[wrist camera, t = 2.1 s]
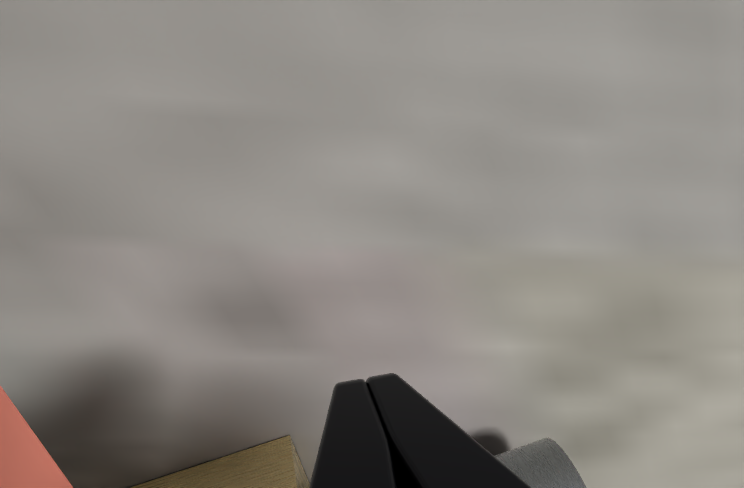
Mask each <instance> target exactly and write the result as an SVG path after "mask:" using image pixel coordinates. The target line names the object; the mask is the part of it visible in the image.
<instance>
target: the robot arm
mask: <svg viewBox="0 0 744 488" xmlns="http://www.w3.org/2000/svg"><path fill="white" fill-rule="evenodd" d="M309 488H532V487H530V486H529V485H528V484H527V483H526V482H524V481H523V480H522V479H521V478H520V477H518V476H517V475H516V474H515V473H514V472H512V471H511V470H510V469H509V468H508V467H506V466H505V465H504V464H503V463H502V462H501V461H499V460H498V459H497V458H496V457H495V456H493V455H492V454H491V453H490V452H489V451H487V450H486V449H485V448H484V447H483V446H481V445H480V444H479V443H478V442H477V441H475V440H474V439H473V438H472V437H471V436H470V435H468V434H467V433H466V432H465V431H464V430H462V429H461V428H460V427H459V426H458V425H456V424H455V423H454V422H453V421H452V420H450V419H449V418H448V417H447V416H446V415H444V414H443V413H442V412H441V411H440V410H439V409H437V408H436V407H435V406H434V405H433V404H431V403H430V402H429V401H428V400H427V399H425V398H424V397H423V396H422V395H421V394H419V393H418V392H417V391H416V390H415V389H413V388H412V387H411V386H410V385H409V384H408V383H406V382H405V381H404V380H403V379H402V378H400V377H399V376H398V375H396V374H394V373H389V374H384V375H378V376H373V377H369V378H368V379H367V380H366V382H365V381H364V380H363V379H356V380H351V381H345V382H340V383H337V384H336V385H335V387H334V390H333V394H332V398H331V402H330V406H329V410H328V414H327V418H326V422H325V426H324V430H323V434H322V439H321V443H320V447H319V451H318V455H317V459H316V463H315V467H314V471H313V475H312V479H311V483H310V487H309Z"/></svg>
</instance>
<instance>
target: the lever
mask: <svg viewBox="0 0 744 488" xmlns="http://www.w3.org/2000/svg"><path fill="white" fill-rule="evenodd" d="M0 488H73V487H72V485H71V484H70V482H69V481H68V480H67V478H66V477H65V475H64V474H63V473H62V471H61V470H60V469H59V467H58V466H57V464H56V463H55V462H54V460H53V459H52V457H51V456H50V455H49V453H48V452H47V450H46V449H45V448H44V446H43V445H42V443H41V442H40V441H39V439H38V438H37V436H36V435H35V434H34V432H33V431H32V429H31V428H30V427H29V425H28V424H27V422H26V421H25V420H24V418H23V417H22V415H21V414H20V413H19V411H18V410H17V408H16V407H15V406H14V404H13V403H12V401H11V400H10V399H9V397H8V396H7V394H6V393H5V392H4V390H3V389H2V387H1V386H0Z"/></svg>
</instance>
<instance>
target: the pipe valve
mask: <svg viewBox="0 0 744 488" xmlns="http://www.w3.org/2000/svg"><path fill="white" fill-rule="evenodd" d="M495 457H496V458H497V459H498V460H499V461H501V462H502V463H503V464H504V465H505V466H506V467H508V468H509V469H510V470H511V471H512V472H514V473H515V474H516V475H517V476H518V477H520V478H521V479H522V480H523V481H524V482H526V483H527V484H528V485H529V486H530V487H532V488H586V486H585V484H584V482H583V480H582V479H581V477H580V475H579V473H578V472H577V470H576V468H575V467H574V465H573V463H572V462H571V460H570V459H569V458H568V456H567V455H566V453H565V452H564V451H563V450H562V448H561V447H560V446H559V445H558V444H557V443H556V442H555V441H553V440H552V439H550V438H544V439H542V440H539V441H536V442H533V443H530V444H527V445H524V446H521V447H518V448H515V449H512V450H509V451H506V452H504V453H501V454H498V455H495ZM309 487H310V484H309V481H308V479H307V476H306V474H305V471H304V469H303V466H302V464H301V462H300V459H299V457H298V454H297V452H296V449H295V447H294V444H293V442H292V440H291V437H290V435H289V436H286V437H283V438H280V439H277V440H274V441H271V442H268V443H265V444H262V445H258V446H255V447H252V448H249V449H246V450H243V451H240V452H237V453H234V454H231V455H228V456H225V457H222V458H219V459H216V460H213V461H210V462H207V463H204V464H201V465H198V466H195V467H192V468H188V469H185V470H182V471H179V472H176V473H173V474H170V475H167V476H164V477H161V478H158V479H155V480H152V481H149V482H146V483H143V484H140V485H137V486H134V487H131V488H309Z"/></svg>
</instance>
